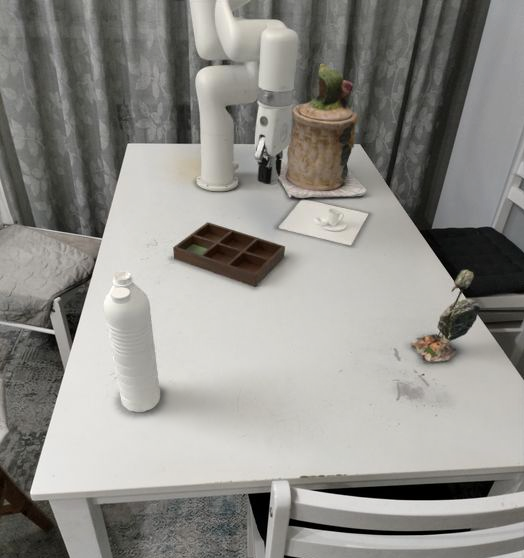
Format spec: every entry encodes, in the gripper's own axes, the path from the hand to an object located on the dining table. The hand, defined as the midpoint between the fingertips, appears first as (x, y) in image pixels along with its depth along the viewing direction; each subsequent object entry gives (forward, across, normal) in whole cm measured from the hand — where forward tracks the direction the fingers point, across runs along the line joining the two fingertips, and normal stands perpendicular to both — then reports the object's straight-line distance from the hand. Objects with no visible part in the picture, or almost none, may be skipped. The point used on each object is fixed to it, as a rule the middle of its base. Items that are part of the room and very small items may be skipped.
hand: (269, 177), depth 119 cm
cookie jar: (+16, +38, +2) cm, 41 cm away
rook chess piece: (+1, 0, 0) cm, 1 cm away
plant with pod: (+14, -22, -50) cm, 56 cm away
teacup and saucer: (+16, +16, -10) cm, 25 cm away
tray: (+15, -15, +2) cm, 21 cm away
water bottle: (+15, -63, -8) cm, 65 cm away
